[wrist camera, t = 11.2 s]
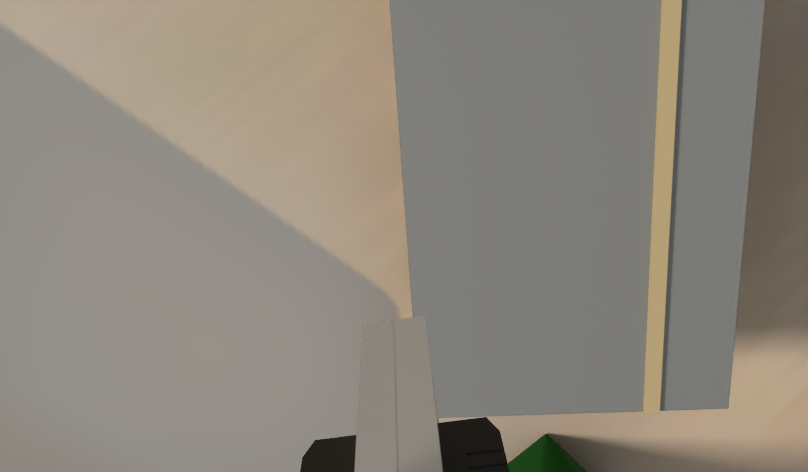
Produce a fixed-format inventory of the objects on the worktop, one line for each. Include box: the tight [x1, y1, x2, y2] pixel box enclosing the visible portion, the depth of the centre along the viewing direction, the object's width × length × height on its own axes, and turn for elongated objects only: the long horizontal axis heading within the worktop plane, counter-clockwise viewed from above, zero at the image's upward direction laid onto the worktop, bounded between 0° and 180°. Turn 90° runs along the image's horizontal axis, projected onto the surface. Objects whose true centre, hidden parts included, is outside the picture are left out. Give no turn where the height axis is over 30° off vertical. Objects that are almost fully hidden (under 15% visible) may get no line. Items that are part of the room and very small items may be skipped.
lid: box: [390, 0, 765, 418], centre depth 38 cm, size 23×17×2 cm
